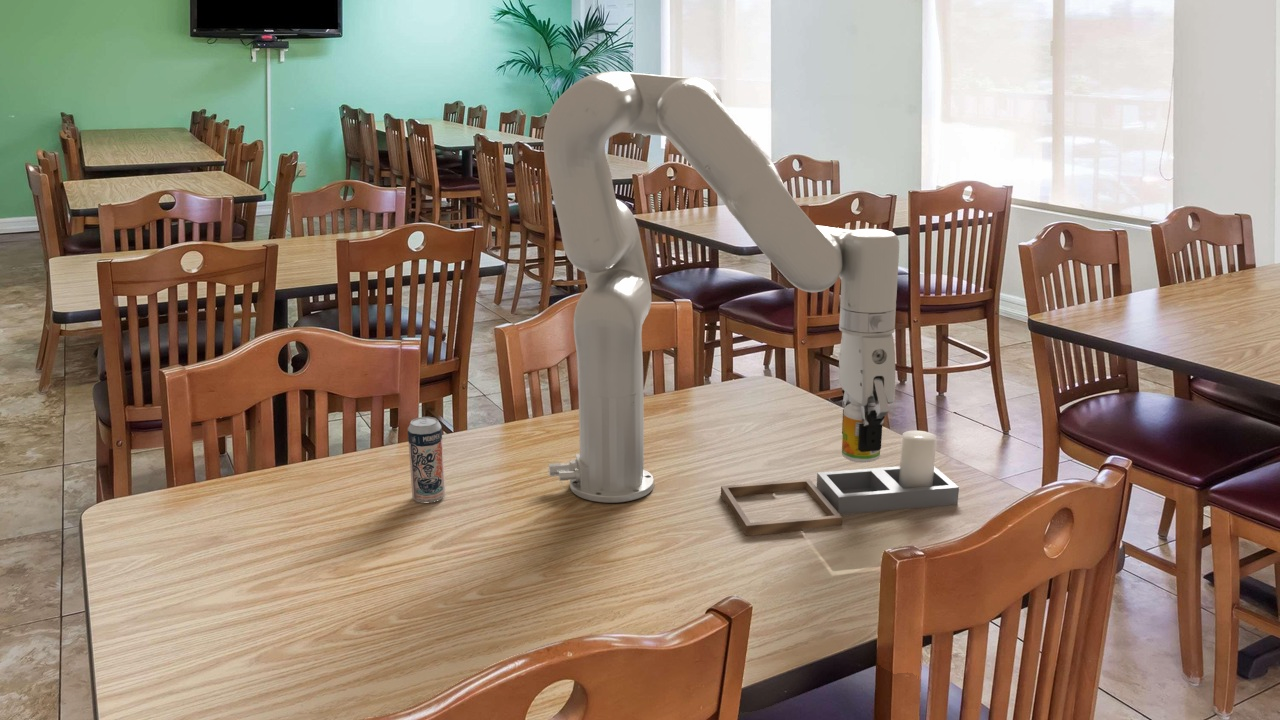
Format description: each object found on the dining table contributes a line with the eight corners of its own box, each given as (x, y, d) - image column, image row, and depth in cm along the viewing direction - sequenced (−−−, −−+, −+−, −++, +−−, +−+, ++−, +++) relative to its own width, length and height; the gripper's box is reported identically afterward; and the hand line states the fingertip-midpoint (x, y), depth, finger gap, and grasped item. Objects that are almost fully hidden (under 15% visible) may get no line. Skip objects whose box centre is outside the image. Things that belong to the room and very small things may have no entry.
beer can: (413, 506, 156) (408, 428, 153) (411, 493, 160) (405, 417, 157) (447, 503, 157) (442, 425, 154) (444, 490, 162) (439, 414, 158)
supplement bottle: (840, 448, 158) (843, 385, 155) (877, 449, 158) (881, 386, 155) (843, 462, 153) (846, 397, 150) (881, 463, 152) (885, 398, 150)
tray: (746, 535, 147) (746, 525, 146) (720, 495, 159) (720, 485, 159) (841, 527, 149) (842, 517, 149) (809, 488, 162) (809, 478, 161)
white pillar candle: (906, 501, 156) (910, 443, 153) (892, 488, 161) (896, 431, 158) (937, 499, 157) (942, 441, 154) (923, 486, 161) (927, 429, 159)
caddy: (838, 516, 152) (839, 497, 151) (816, 491, 161) (817, 472, 160) (957, 506, 155) (959, 487, 155) (929, 482, 164) (931, 463, 163)
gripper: (919, 334, 142) (910, 462, 147) (869, 303, 158) (863, 420, 163) (865, 337, 141) (858, 467, 146) (820, 306, 157) (815, 424, 162)
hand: (861, 441), depth 155 cm, fingers closed on supplement bottle, 5 cm apart
